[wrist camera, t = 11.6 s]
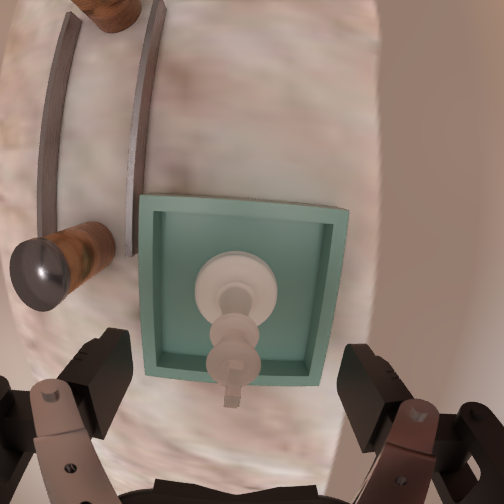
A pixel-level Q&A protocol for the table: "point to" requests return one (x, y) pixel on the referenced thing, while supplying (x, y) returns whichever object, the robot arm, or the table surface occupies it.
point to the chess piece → (235, 316)
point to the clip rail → (81, 236)
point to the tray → (248, 240)
